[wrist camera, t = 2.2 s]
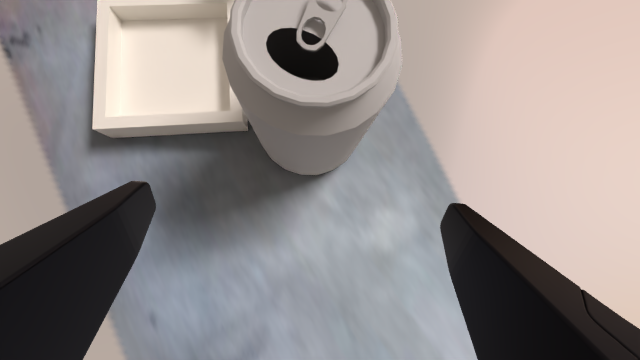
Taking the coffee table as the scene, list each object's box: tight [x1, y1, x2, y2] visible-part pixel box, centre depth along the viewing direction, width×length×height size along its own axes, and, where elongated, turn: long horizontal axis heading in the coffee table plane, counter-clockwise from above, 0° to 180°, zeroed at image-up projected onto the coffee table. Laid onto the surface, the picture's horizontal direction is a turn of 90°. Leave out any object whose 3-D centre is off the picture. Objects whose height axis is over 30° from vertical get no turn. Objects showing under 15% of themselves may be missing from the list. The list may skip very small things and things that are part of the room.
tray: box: [92, 0, 248, 138], centre depth 21 cm, size 10×10×2 cm
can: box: [222, 0, 402, 175], centre depth 16 cm, size 8×8×12 cm
